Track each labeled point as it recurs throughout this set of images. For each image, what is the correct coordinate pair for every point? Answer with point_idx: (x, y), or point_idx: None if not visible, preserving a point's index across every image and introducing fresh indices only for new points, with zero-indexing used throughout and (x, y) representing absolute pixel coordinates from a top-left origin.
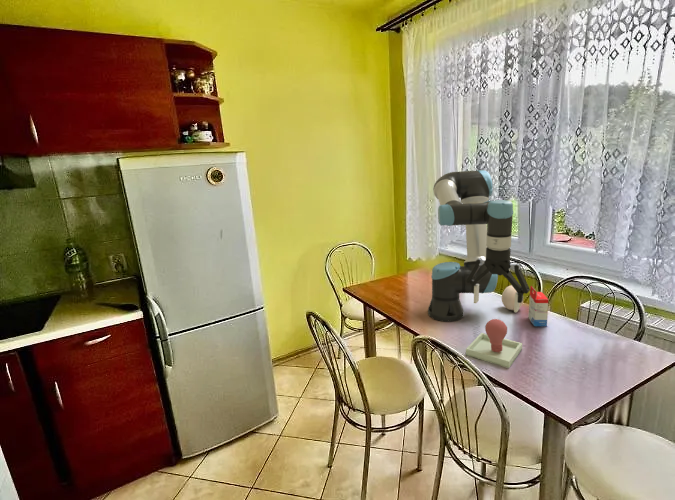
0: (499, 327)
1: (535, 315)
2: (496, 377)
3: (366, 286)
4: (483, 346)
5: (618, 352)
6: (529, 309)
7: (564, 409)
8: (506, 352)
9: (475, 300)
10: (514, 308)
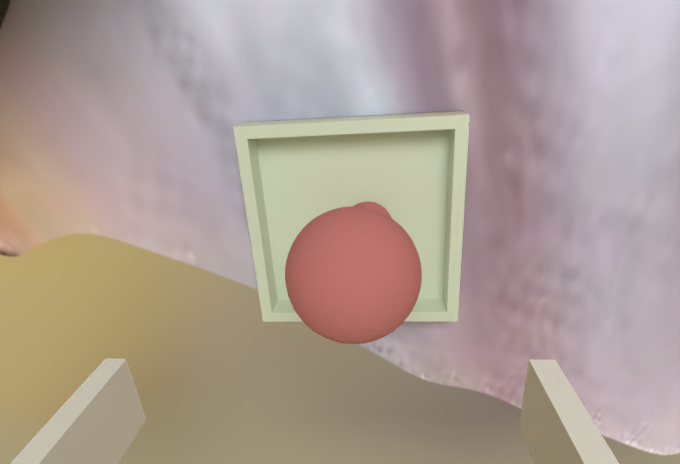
0: (388, 333)
1: None
2: (430, 375)
3: None
4: (297, 210)
5: None
6: None
7: (665, 420)
8: (408, 203)
9: (124, 447)
10: (536, 461)
